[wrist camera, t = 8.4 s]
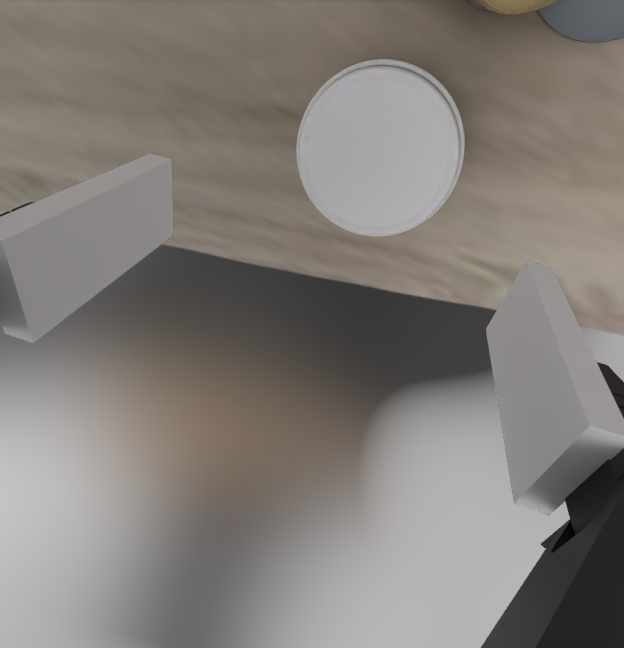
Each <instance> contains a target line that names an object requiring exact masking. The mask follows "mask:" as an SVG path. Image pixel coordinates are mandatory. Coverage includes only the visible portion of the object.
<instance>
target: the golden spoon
mask: <svg viewBox="0 0 624 648" xmlns="http://www.w3.org/2000/svg"><path fill="white" fill-rule="evenodd" d="M478 1H479V2H480V3H481V4H482V5H483V6H484V7H486V8H487V9H489V10H491V11H493V12H496V13H499V14H506V15H513V14H520V13H525V12H530V11H534V10H538V9H541V8H543V7H546V6H548V5H550V4H552V3H554V2H556V1H557V0H478Z"/></svg>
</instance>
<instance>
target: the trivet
mask: <svg viewBox="0 0 624 648" xmlns="http://www.w3.org/2000/svg"><path fill="white" fill-rule="evenodd" d="M537 11H538V13H539V14H540V16H541V17H542V19H543V20H544V21H545V22H546V23H547V24H548V25H549V26H550V27H551V28H552V29H553V30H555V31H556V32H558V33H559V34H561V35H563V36H565V37H567V38H570V39H574V40H578V41H587V42H602V41H609V40H614V39H618V38H622V37H624V0H557V1H556V2H554V3H552V4H550V5H548V6H546V7H543V8H541V9H538V10H537Z"/></svg>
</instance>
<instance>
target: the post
mask: <svg viewBox="0 0 624 648" xmlns="http://www.w3.org/2000/svg"><path fill="white" fill-rule="evenodd" d="M469 1H470V3H471V4H472V5H473V6H475V7H476V8H479V9H484V10H486V9H487V8H486V7H484V6H483V5H482V4H481V3H480V2H479V1H478V0H469Z"/></svg>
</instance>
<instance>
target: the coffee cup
mask: <svg viewBox="0 0 624 648" xmlns="http://www.w3.org/2000/svg"><path fill="white" fill-rule="evenodd" d="M464 150H465V135H464V128H463V123H462V119H461V116H460V113H459V111H458V108H457V106H456V104H455V102H454V100H453V98H452V97H451V95H450V94H449V92H448V91H447V89H446V88H445V87H444V86H443V85H442V84H441V83H440V82H439V81H438V80H437V79H436V78H435V77H434V76H433V75H431V74H430V73H428V72H427V71H425V70H424V69H422V68H420V67H418V66H416V65H413V64H410V63H407V62H404V61H399V60H394V59H374V60H368V61H363V62H360V63H357V64H354V65H352V66H350V67H348V68H346V69H344V70H342V71H340V72H339V73H337V74H336V75H334V76H333V77H332V78H331V79H329V80H328V81H327V82H326V83H325V84H324V85H323V86H322V87H321V88H320V89H319V91H318V92H317V93H316V94H315V96H314V97H313V99H312V100H311V102H310V103H309V105H308V107H307V109H306V111H305V113H304V116H303V118H302V121H301V124H300V128H299V131H298V137H297V147H296V155H297V166H298V171H299V175H300V179H301V182H302V184H303V187H304V189H305V191H306V193H307V195H308V197H309V198H310V200H311V201H312V203H313V204H314V206H315V207H316V208H317V209H318V210H319V211H320V212H321V213H322V214H323V215H324V216H325V217H326V218H327V219H328V220H330V221H331V222H332V223H334V224H336V225H337V226H339V227H341V228H343V229H345V230H347V231H350V232H353V233H356V234H360V235H366V236H389V235H395V234H399V233H402V232H405V231H408V230H410V229H412V228H414V227H416V226H418V225H420V224H421V223H423V222H424V221H426V220H427V219H429V218H430V217H431V216H432V215H433V214H434V213H435V212H437V211H438V210H439V209H440V207H441V206H442V205H443V204H444V203H445V201H446V200H447V198H448V197H449V196H450V194H451V192H452V190H453V189H454V187H455V185H456V182H457V180H458V178H459V175H460V171H461V168H462V164H463V159H464Z"/></svg>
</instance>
